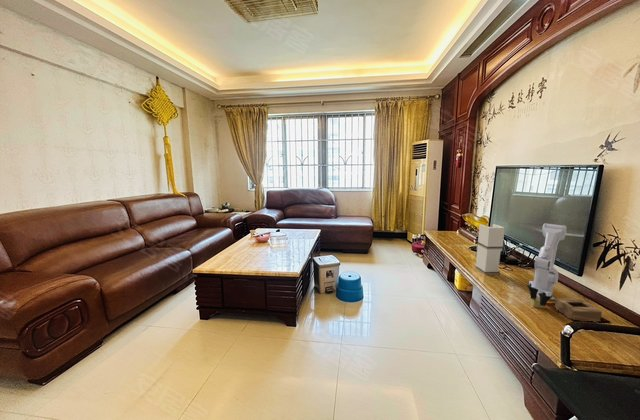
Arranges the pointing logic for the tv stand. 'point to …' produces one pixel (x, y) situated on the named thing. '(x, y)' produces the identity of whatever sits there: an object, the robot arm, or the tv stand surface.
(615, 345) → the tv stand surface
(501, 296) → the tv stand surface
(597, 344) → the tv stand surface
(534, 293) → the robot arm
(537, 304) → the block
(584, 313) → the box
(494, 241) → the stacked grey cubes
